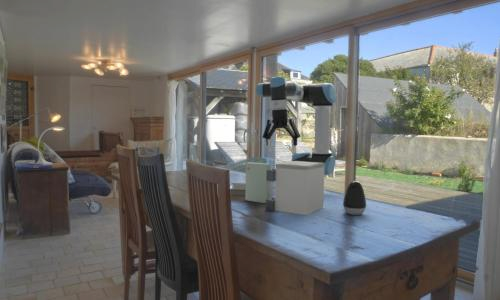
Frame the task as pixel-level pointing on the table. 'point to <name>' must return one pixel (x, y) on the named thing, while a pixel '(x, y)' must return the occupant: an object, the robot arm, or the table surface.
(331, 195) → the table surface
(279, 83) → the robot arm
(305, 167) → the cabinet
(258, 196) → the sage door
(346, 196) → the black egg-shaped speaker
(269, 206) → the clip hinges
